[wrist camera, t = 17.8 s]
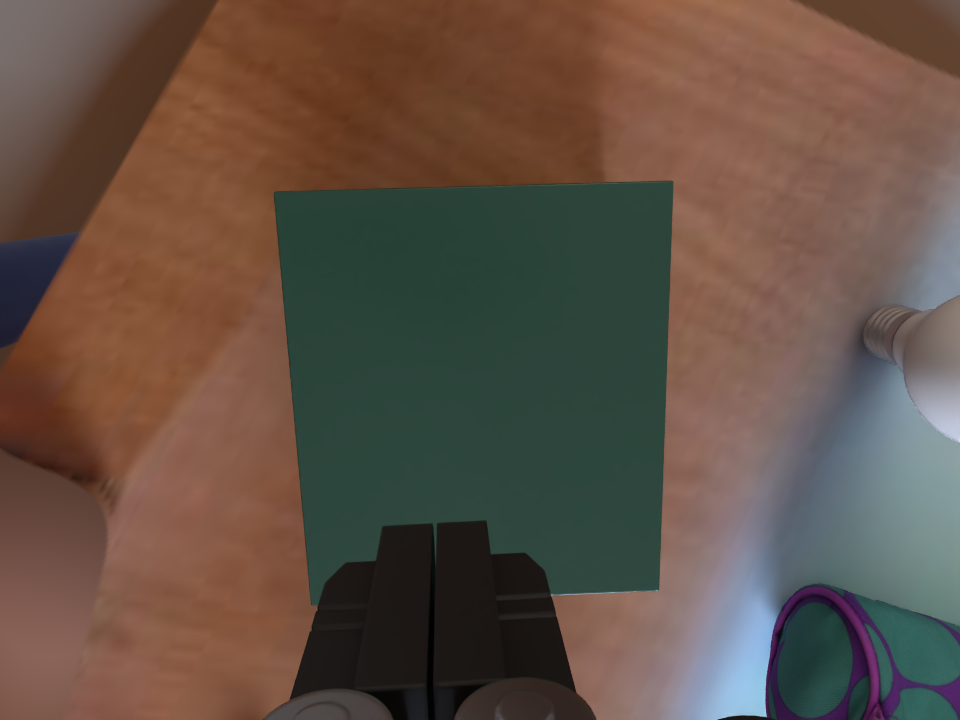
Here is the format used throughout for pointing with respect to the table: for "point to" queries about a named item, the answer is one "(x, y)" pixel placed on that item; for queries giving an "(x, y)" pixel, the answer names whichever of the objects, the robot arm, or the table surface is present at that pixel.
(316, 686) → the robot arm
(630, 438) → the tin lid
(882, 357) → the lightbulb
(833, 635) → the pencil case
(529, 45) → the table surface
